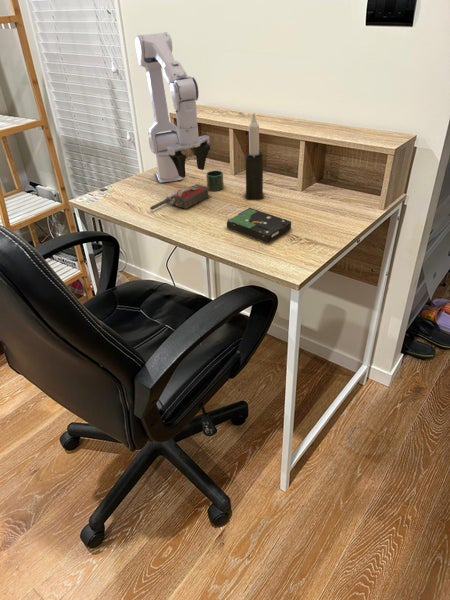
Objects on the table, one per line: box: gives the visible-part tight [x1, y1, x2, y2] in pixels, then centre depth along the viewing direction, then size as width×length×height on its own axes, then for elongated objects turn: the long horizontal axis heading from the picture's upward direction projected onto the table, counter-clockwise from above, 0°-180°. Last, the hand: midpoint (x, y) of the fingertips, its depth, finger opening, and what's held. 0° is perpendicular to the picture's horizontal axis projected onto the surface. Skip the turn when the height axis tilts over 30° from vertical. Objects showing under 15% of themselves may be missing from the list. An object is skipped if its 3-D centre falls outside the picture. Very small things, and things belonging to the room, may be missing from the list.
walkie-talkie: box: [149, 183, 209, 211], centre depth 140 cm, size 9×4×20 cm
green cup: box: [205, 170, 225, 192], centre depth 148 cm, size 5×5×5 cm
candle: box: [244, 112, 264, 200], centre depth 136 cm, size 5×5×25 cm
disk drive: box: [226, 207, 292, 244], centre depth 124 cm, size 10×3×15 cm
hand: (191, 172), depth 135 cm, fingers open, 7 cm apart
